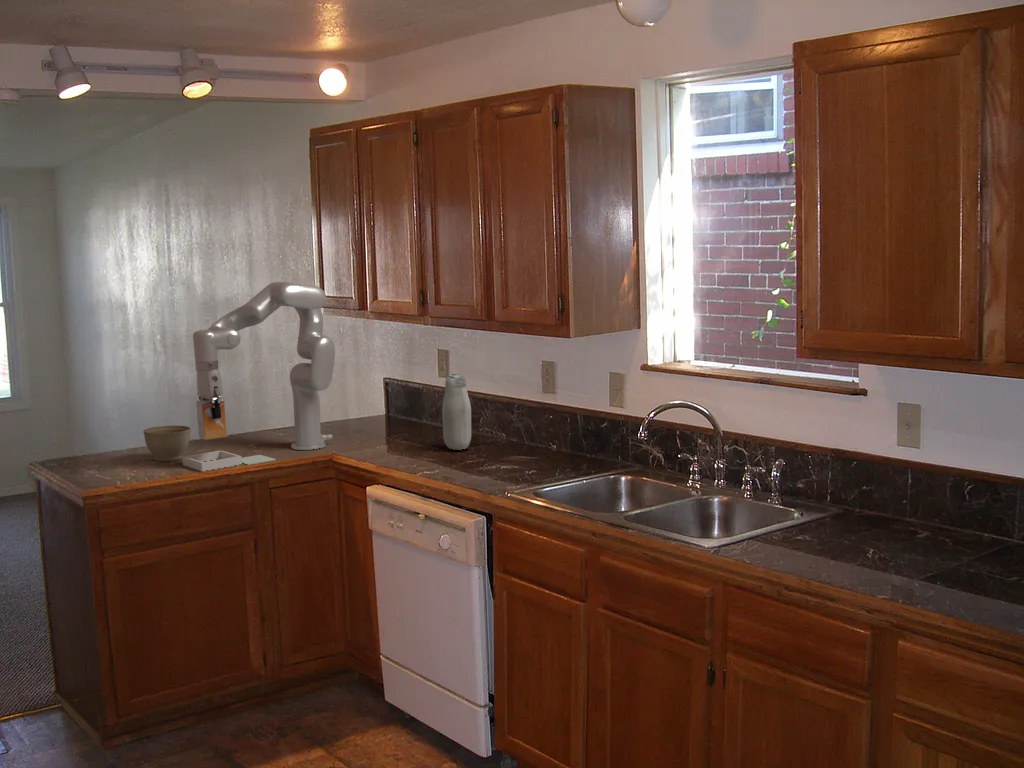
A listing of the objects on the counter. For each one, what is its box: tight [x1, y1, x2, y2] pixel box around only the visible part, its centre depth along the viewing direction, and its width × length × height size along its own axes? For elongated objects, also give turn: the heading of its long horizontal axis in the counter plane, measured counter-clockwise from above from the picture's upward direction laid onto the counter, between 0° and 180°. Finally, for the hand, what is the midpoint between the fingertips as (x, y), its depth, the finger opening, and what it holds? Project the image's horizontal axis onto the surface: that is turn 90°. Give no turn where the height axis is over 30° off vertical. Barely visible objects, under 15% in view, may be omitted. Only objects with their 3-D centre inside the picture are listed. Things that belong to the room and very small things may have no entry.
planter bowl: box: [143, 425, 192, 462], centre depth 385 cm, size 16×16×11 cm
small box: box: [195, 399, 228, 441], centre depth 373 cm, size 8×6×13 cm
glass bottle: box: [441, 373, 472, 451], centre depth 391 cm, size 10×10×28 cm
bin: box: [181, 450, 243, 472], centre depth 374 cm, size 15×15×3 cm
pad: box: [241, 454, 277, 466], centre depth 381 cm, size 11×11×1 cm
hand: (211, 416), depth 373 cm, fingers closed on small box, 6 cm apart
